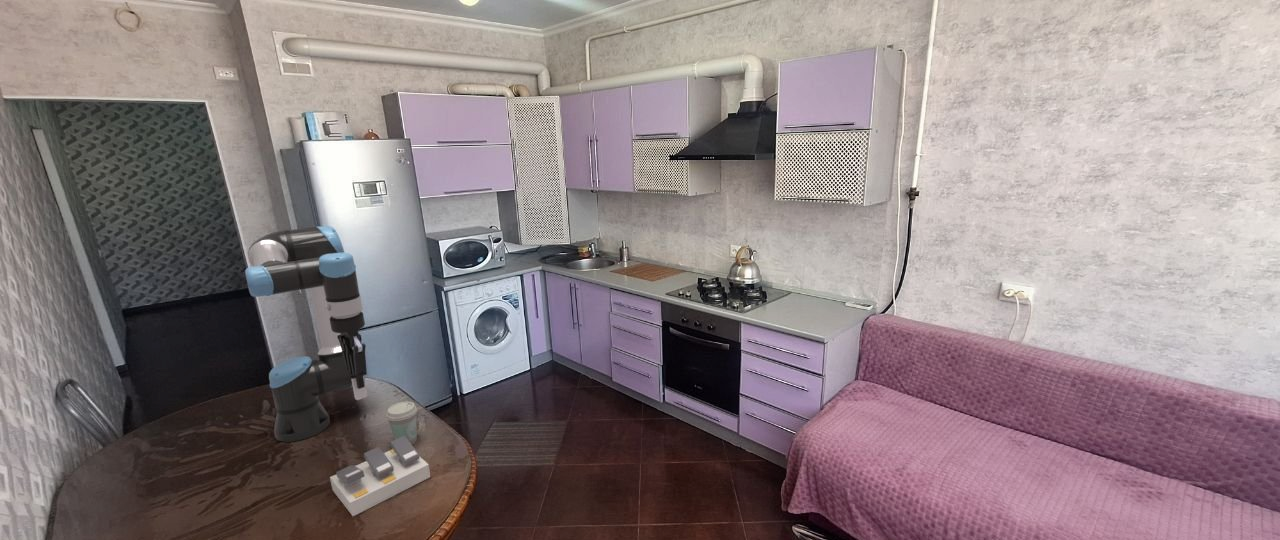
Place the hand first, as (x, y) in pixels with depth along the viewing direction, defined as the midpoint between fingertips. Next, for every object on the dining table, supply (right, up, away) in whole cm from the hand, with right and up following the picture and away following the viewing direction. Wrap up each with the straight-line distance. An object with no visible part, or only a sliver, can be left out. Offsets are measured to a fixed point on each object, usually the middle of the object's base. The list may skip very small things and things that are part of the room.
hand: (361, 397), depth 135 cm
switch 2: (+4, -18, +2) cm, 19 cm away
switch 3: (+8, -17, +7) cm, 20 cm away
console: (+4, -24, +3) cm, 25 cm away
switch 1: (-1, -20, -3) cm, 20 cm away
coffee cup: (+2, -20, +22) cm, 30 cm away
